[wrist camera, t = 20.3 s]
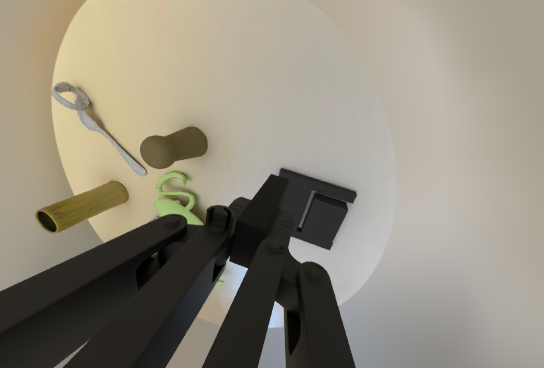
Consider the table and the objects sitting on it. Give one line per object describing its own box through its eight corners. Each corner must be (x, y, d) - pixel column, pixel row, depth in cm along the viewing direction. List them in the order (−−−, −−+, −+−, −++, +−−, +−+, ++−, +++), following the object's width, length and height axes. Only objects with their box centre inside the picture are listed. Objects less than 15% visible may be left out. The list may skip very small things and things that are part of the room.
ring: (79, 82, 40) (48, 80, 36) (96, 103, 41) (68, 103, 37) (73, 92, 42) (43, 90, 37) (91, 112, 42) (63, 113, 38)
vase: (109, 197, 51) (37, 229, 38) (106, 177, 49) (29, 203, 36) (129, 205, 50) (62, 240, 38) (127, 185, 48) (56, 214, 35)
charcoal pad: (346, 202, 36) (348, 210, 33) (330, 235, 40) (331, 244, 37) (315, 192, 37) (314, 198, 34) (302, 225, 40) (300, 234, 38)
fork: (149, 173, 48) (141, 178, 45) (74, 102, 43) (60, 104, 40) (155, 167, 47) (147, 172, 44) (78, 93, 41) (64, 94, 39)
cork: (195, 162, 41) (154, 181, 31) (175, 139, 40) (126, 150, 30) (213, 145, 38) (174, 159, 28) (192, 120, 37) (145, 125, 28)
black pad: (266, 222, 42) (264, 226, 41) (281, 168, 37) (280, 170, 35) (329, 245, 40) (329, 250, 39) (355, 191, 35) (357, 195, 34)
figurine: (220, 278, 52) (209, 296, 47) (143, 211, 50) (122, 223, 45) (264, 243, 44) (256, 261, 39) (174, 162, 42) (154, 170, 37)
